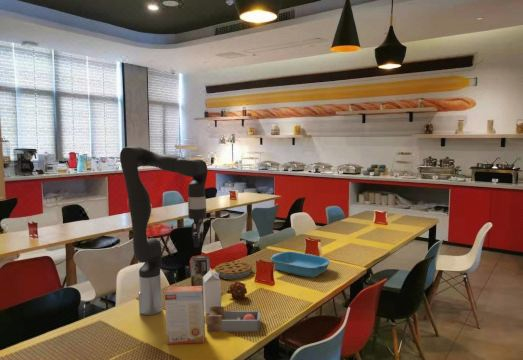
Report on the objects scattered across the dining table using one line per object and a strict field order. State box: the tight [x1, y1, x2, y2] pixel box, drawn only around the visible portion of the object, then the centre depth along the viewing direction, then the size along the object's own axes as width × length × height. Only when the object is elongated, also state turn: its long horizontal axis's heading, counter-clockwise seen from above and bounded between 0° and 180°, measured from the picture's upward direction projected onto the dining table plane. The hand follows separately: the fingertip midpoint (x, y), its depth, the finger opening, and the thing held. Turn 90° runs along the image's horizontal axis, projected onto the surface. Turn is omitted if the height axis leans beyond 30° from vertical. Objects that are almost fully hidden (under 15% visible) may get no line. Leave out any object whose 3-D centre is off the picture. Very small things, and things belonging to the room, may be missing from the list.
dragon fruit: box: [226, 280, 248, 300], centre depth 194 cm, size 8×8×12 cm
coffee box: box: [189, 255, 211, 286], centre depth 207 cm, size 9×6×16 cm
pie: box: [214, 260, 253, 280], centre depth 229 cm, size 22×22×5 cm
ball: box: [243, 314, 255, 320], centre depth 164 cm, size 5×5×5 cm
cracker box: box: [164, 285, 206, 345], centre depth 153 cm, size 14×6×21 cm, turn 92°
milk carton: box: [203, 267, 222, 315], centre depth 179 cm, size 7×7×19 cm
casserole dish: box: [270, 251, 330, 278], centre depth 233 cm, size 37×22×7 cm, turn 53°
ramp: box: [206, 305, 226, 332], centre depth 165 cm, size 7×9×6 cm
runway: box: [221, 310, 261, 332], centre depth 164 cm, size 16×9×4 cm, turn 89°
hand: (198, 244), depth 168 cm, fingers open, 8 cm apart
